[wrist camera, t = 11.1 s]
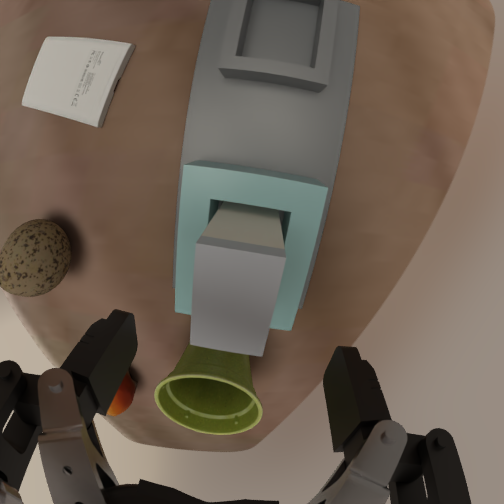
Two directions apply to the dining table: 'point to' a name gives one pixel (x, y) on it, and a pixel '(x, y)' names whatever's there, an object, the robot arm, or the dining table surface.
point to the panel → (266, 129)
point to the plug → (237, 279)
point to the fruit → (123, 396)
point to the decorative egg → (34, 258)
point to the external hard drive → (76, 77)
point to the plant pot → (210, 392)
